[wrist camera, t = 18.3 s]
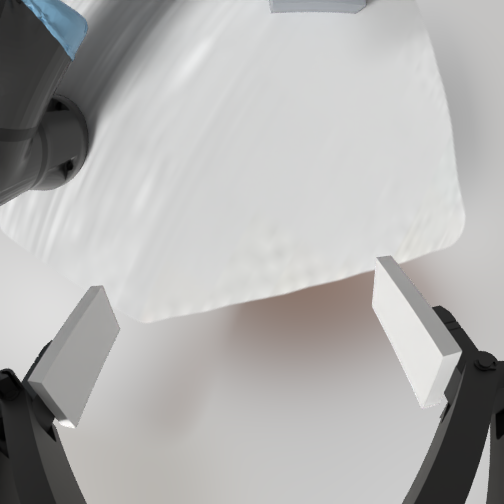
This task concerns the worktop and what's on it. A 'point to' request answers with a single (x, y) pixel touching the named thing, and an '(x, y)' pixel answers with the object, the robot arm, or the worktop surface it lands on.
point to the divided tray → (316, 6)
